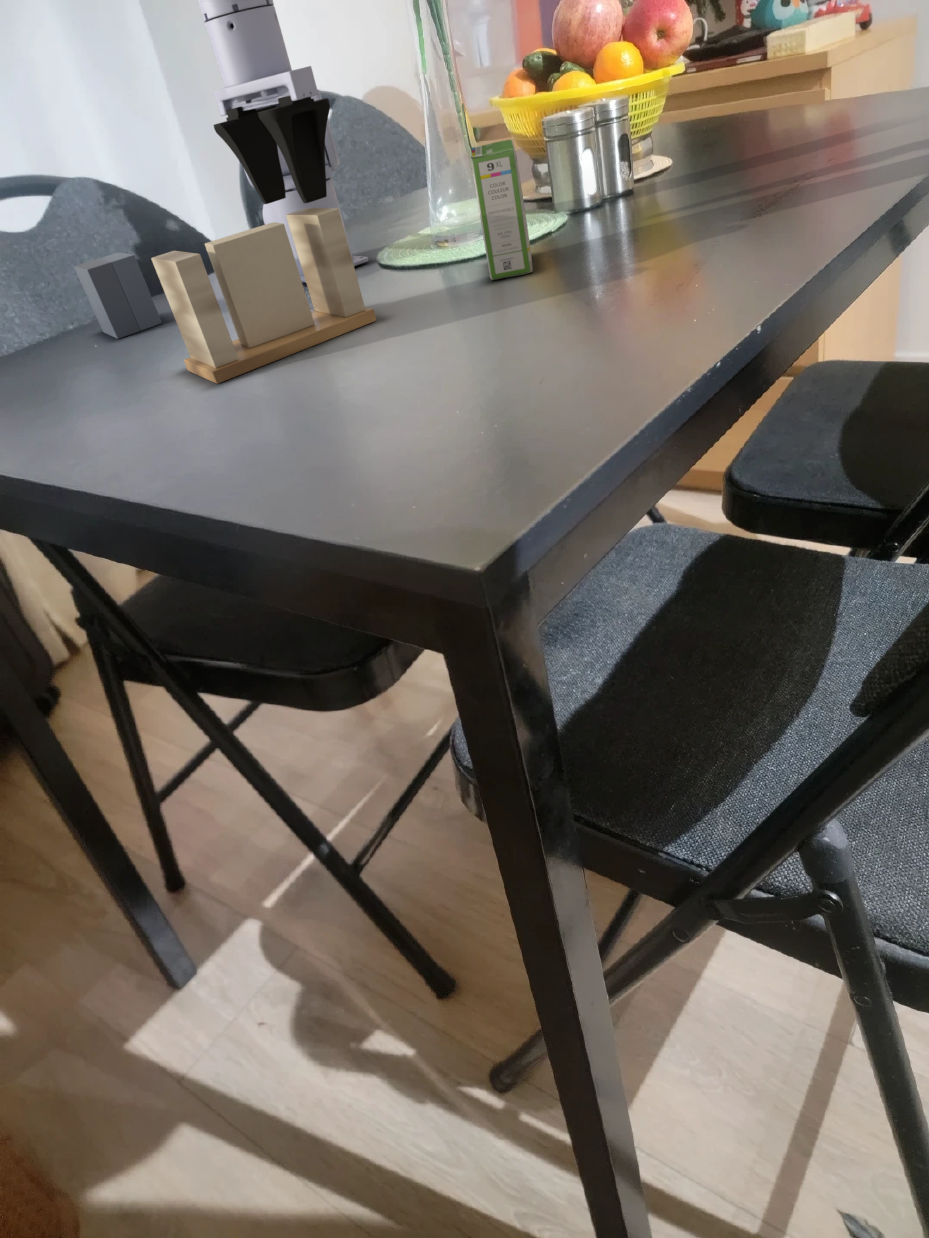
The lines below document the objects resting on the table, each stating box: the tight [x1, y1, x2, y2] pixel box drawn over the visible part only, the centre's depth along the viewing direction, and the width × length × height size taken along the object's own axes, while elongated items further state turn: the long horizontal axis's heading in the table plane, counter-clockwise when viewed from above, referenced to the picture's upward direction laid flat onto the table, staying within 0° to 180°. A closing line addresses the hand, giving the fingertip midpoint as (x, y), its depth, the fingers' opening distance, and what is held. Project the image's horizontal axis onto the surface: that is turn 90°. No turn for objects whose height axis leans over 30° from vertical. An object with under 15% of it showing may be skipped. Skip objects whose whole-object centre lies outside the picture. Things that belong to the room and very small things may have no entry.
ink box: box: [461, 102, 534, 281], centre depth 72 cm, size 7×4×13 cm, turn 179°
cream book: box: [204, 222, 315, 348], centre depth 67 cm, size 6×2×8 cm, turn 121°
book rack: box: [150, 208, 377, 385], centre depth 67 cm, size 7×15×9 cm, turn 126°
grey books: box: [73, 251, 163, 340], centre depth 87 cm, size 6×5×7 cm
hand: (294, 200), depth 73 cm, fingers open, 7 cm apart
